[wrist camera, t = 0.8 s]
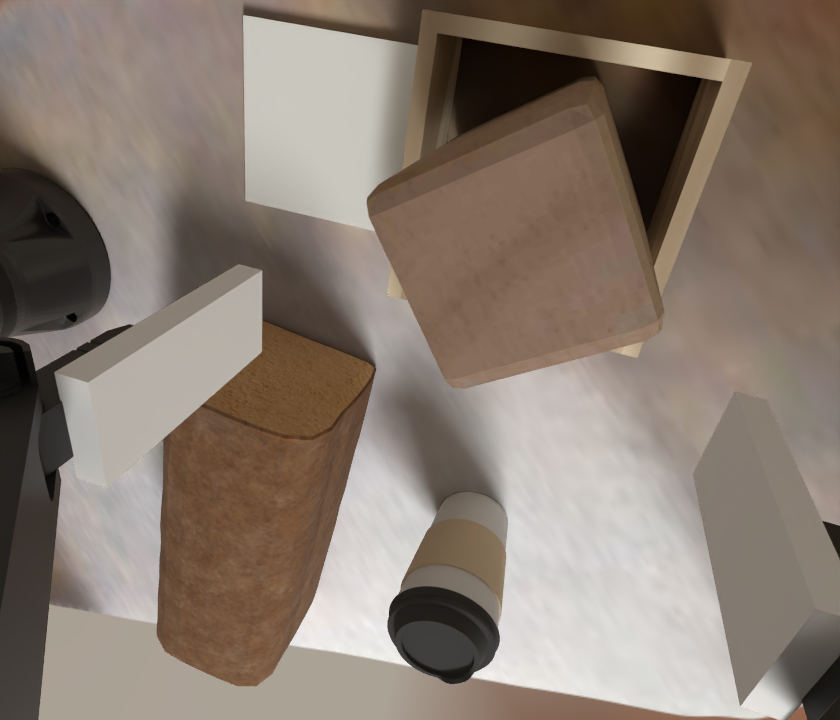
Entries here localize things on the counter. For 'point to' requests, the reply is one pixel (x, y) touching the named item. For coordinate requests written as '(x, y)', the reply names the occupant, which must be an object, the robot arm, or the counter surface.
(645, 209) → the counter surface
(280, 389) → the bread
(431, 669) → the coffee cup
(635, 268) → the wooden block
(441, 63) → the birch frame
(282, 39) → the grey mat
